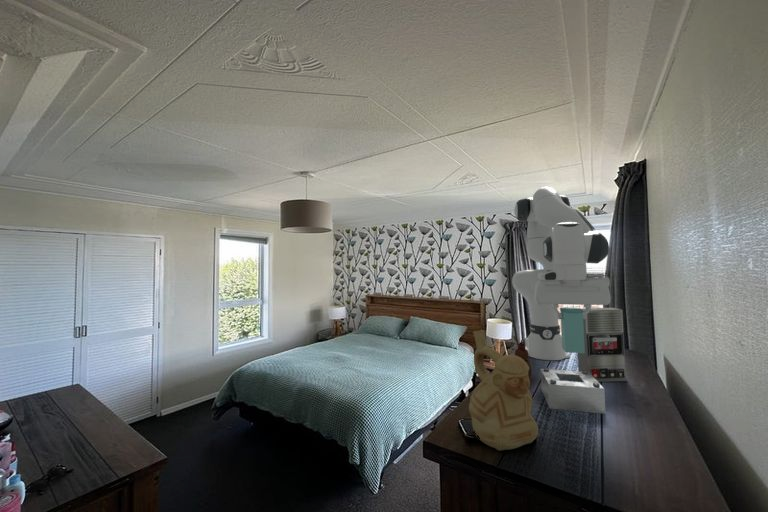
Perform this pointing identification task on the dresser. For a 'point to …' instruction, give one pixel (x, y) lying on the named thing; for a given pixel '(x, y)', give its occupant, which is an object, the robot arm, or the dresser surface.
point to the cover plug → (572, 330)
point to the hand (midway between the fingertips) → (571, 319)
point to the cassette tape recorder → (604, 345)
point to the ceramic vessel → (502, 399)
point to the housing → (572, 391)
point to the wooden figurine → (523, 355)
